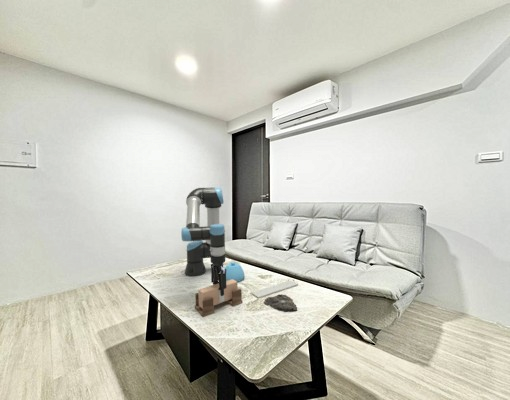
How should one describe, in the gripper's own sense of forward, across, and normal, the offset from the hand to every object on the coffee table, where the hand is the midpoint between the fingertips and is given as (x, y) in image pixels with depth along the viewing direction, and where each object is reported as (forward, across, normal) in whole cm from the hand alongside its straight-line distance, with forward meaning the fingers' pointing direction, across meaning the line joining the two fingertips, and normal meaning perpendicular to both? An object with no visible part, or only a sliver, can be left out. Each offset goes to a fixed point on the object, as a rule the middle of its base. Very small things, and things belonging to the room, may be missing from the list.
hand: (219, 299), depth 112 cm
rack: (+3, 0, 0) cm, 3 cm away
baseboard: (+4, +2, +36) cm, 36 cm away
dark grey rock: (+4, +19, +27) cm, 33 cm away
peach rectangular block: (+1, 0, 0) cm, 1 cm away
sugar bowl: (+4, -27, +24) cm, 36 cm away
